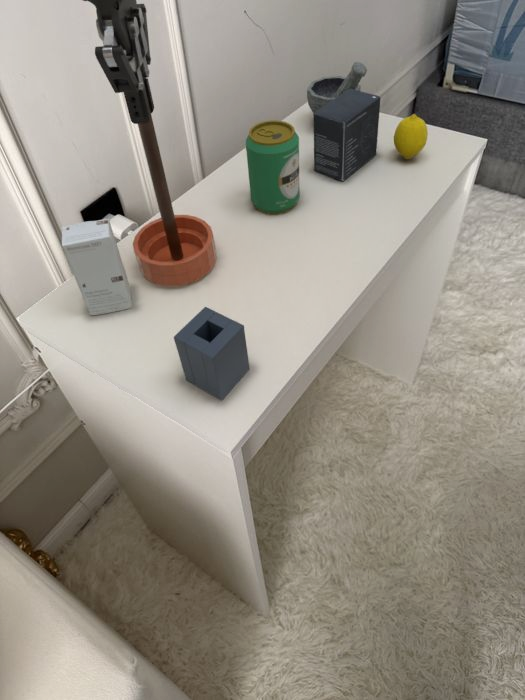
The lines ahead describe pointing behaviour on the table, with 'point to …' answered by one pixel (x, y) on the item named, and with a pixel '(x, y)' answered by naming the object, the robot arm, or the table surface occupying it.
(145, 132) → the stick
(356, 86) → the mortar and pestle
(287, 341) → the table surface
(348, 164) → the box
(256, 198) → the beverage can
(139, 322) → the table surface
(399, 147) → the fruit
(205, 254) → the bowl
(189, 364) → the holder
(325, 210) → the table surface
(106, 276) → the cosmetic box
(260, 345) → the table surface
